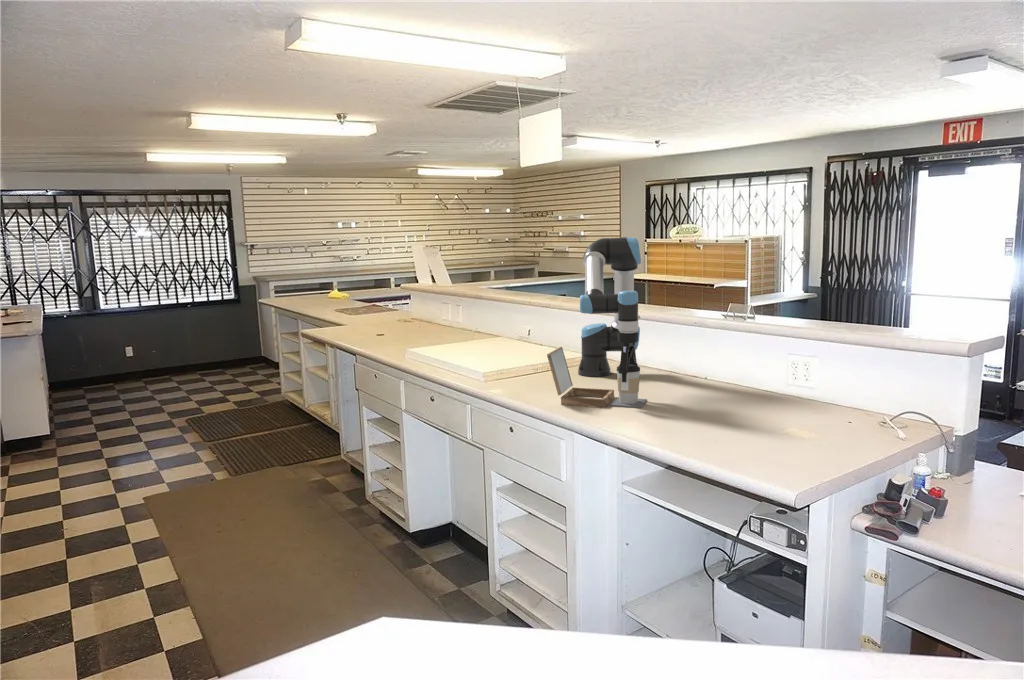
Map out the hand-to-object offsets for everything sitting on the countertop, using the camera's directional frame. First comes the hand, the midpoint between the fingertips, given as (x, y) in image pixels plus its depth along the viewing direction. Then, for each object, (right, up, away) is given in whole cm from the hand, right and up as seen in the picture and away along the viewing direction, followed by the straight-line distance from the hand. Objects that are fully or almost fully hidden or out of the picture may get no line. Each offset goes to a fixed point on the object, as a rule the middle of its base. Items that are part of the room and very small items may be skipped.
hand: (628, 386), depth 254 cm
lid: (-25, +6, +9) cm, 27 cm away
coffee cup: (0, -6, +1) cm, 6 cm away
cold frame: (-15, -6, +7) cm, 17 cm away
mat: (0, -7, +1) cm, 7 cm away
